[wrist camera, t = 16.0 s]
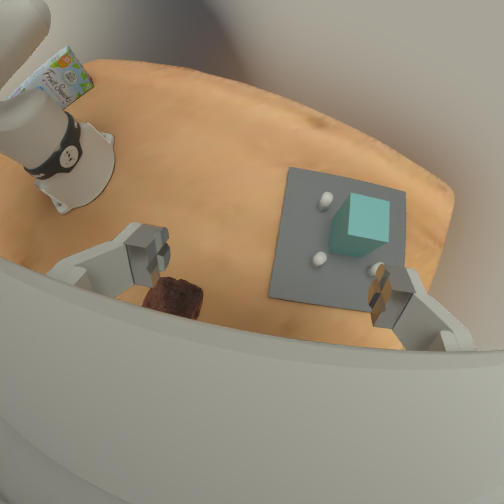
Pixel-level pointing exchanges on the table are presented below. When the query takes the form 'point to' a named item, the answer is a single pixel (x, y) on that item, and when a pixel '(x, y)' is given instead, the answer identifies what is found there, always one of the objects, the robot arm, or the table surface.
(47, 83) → the snack box
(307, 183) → the peg board
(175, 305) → the wooden tablet
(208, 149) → the table surface
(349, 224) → the teal post
